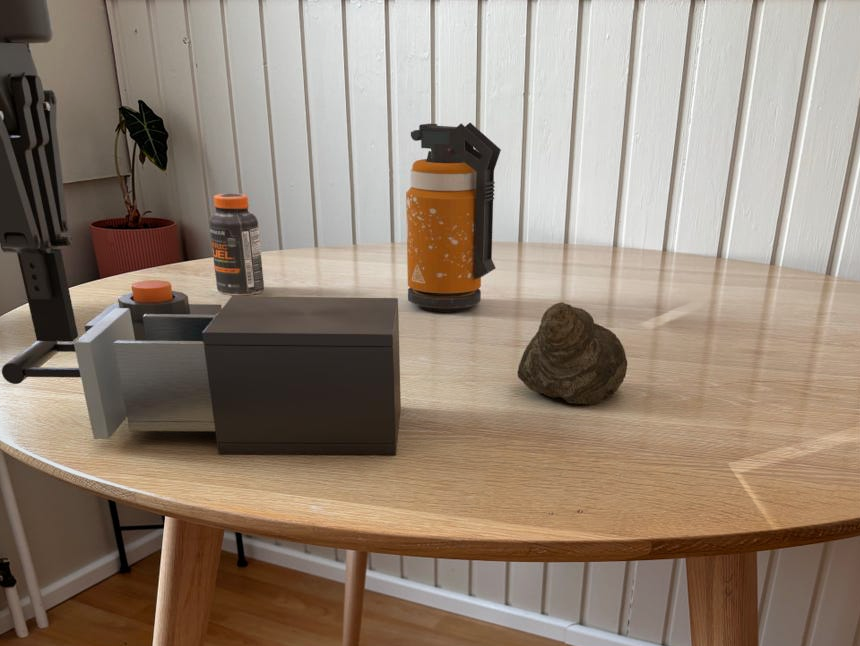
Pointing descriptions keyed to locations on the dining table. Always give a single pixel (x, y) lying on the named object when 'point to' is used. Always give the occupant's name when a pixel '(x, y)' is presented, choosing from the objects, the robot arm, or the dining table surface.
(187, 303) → the control block
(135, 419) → the dispenser drawer
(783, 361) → the dining table surface
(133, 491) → the dining table surface
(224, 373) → the drawer cabinet
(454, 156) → the canister
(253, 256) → the pill bottle
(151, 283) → the button
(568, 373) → the seashell
